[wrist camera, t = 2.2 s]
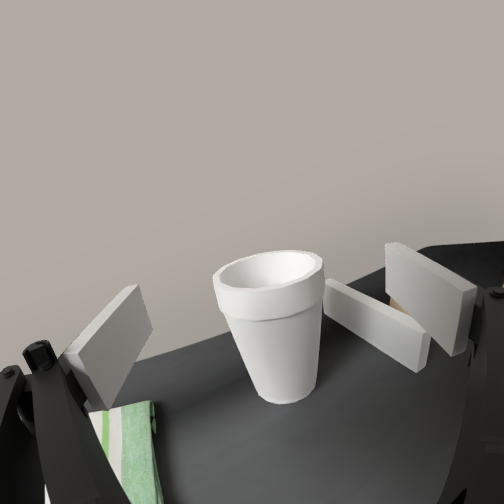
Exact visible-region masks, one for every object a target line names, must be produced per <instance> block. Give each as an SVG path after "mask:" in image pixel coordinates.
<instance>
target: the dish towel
mask: <svg viewBox="0 0 504 504" xmlns="http://www.w3.org/2000/svg"><path fill="white" fill-rule="evenodd" d="M88 414H89V417H90V419H91V422H92V424H93V427H94V429H95V432H96V434H97V437H98V439H99V441H100V444H101V446H102V448H103V450H104V452H105V455H106V457H107V459H108V461H109V463H110V465H111V467H112V469H113V471H114V473H115V475H116V477H117V479H118V481H119V482H120V484H121V486H122V488H123V490H124V492H125V493H126V495H127V497H128V498H129V500H130V502H131V503H132V504H164V500H163V495H162V490H161V486H160V481H159V476H158V470H157V464H156V459H155V453H154V447H153V442H152V436H151V428H152V430H153V431H154V432H155V434H156V424H155V419H154V418H153V421H152V423H150V416H153V417H154V415H155V413H154V406H153V402H152V401H151V400H149V401H143V402H139V403H135V404H130V405H126V406H122V407H118V408H113V409H110V410H109V411H98V412H92V413H88ZM21 420H22V419H21ZM45 504H50V500H49V497H48V493H47V489H46V485H45Z"/></svg>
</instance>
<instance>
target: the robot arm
mask: <svg viewBox="0 0 504 504" xmlns="http://www.w3.org/2000/svg"><path fill="white" fill-rule="evenodd" d="M385 257H386V293H387V294H389V295H390V296H391V297H392V298H393V299H394V300H395V301H396V302H397V303H398V304H399V305H400V306H401V307H402V308H403V309H404V310H405V311H406V312H407V313H408V314H409V315H410V316H411V317H412V318H413V319H414V320H415V321H416V322H417V323H418V324H419V325H420V326H421V327H422V328H423V329H424V330H425V331H426V332H427V333H428V334H429V335H430V336H431V337H432V338H433V339H434V340H435V341H436V342H437V343H438V344H439V345H440V346H441V347H442V348H443V349H444V350H445V351H446V352H447V353H448V354H449V355H450V356H451V357H453V356H455V355H457V354H460V353H462V352H464V351H465V350H466V346H467V342H468V338H470V339H471V340H472V341H473V342H474V344H473V348H472V352H471V356H470V359H469V363H468V366H470V365H471V368H470V377H469V385H468V393H467V399H466V405H465V411H464V417H463V422H462V426H461V431H460V435H459V440H458V444H457V448H456V451H455V455H454V459H453V462H452V465H451V469H450V472H449V475H448V478H447V481H446V484H445V487H444V489H443V492H442V494H441V497H440V499H439V501H438V502H437V504H504V288H502V287H489V288H487V289H484V288H482V287H480V286H479V285H477V284H475V283H474V282H472V281H470V280H469V279H467V278H464V277H463V276H462V275H460V274H458V273H456V272H453V271H450V270H448V269H447V268H445V267H443V266H441V265H439V264H438V263H436V262H434V261H432V260H430V259H429V258H427V257H425V256H423V255H421V254H419V253H418V252H416V251H414V250H412V249H410V248H408V247H406V246H404V245H402V244H401V243H398V242H393V243H388V244H385ZM152 330H153V329H152V326H151V322H150V319H149V317H148V314H147V311H146V307H145V304H144V301H143V298H142V295H141V292H140V288H139V285H132V286H126V287H125V288H124V289H123V290H122V291H121V292H120V293H119V294H118V295H117V296H116V297H115V298H114V299H113V300H112V301H111V302H110V303H109V304H108V305H107V306H106V307H105V308H104V309H103V310H102V312H101V313H100V314H99V315H98V316H97V317H96V318H95V319H94V320H93V321H92V322H91V323H90V324H89V325H88V326H87V327H86V328H85V329H84V331H83V332H82V333H81V334H80V335H79V336H78V337H77V338H76V339H75V340H74V341H73V342H72V343H71V344H70V345H69V347H68V348H67V349H66V350H65V351H64V352H63V353H62V354H61V355H60V357H59V358H58V359H57V357H56V355H55V353H54V351H53V349H52V347H51V344H50V342H49V341H47V340H41V341H37V342H35V343H33V344H31V345H29V346H28V347H27V348H26V349H25V350H24V351H23V353H22V354H23V356H24V358H25V360H26V362H27V364H28V366H29V368H30V370H31V371H32V374H28V375H24V374H23V372H22V371H21V369H20V367H19V366H17V365H13V366H8V367H6V368H4V369H3V371H1V372H0V504H45V485H46V489H47V493H48V497H49V500H50V504H132V503H131V502H130V500H129V498H128V497H127V495H126V493H125V492H124V490H123V488H122V486H121V484H120V482H119V481H118V479H117V477H116V475H115V473H114V471H113V469H112V467H111V465H110V463H109V461H108V459H107V457H106V455H105V452H104V450H103V448H102V446H101V444H100V441H99V439H98V437H97V434H96V432H95V429H94V427H93V424H92V422H91V419H90V417H89V414H88V411H87V410H86V408H85V407H84V403H85V401H86V400H87V399H88V401H89V403H90V404H91V406H92V408H93V409H94V410H102V411H109V410H110V408H111V406H112V404H113V402H114V400H115V398H116V396H117V394H118V393H119V391H120V389H121V387H122V385H123V383H124V381H125V379H126V377H127V376H128V374H129V372H130V370H131V368H132V366H133V364H134V363H135V361H136V359H137V357H138V355H139V354H140V352H141V349H142V348H143V346H144V345H145V343H146V341H147V339H148V337H149V336H150V334H151V332H152ZM18 413H19V415H20V416H21V417H22V420H21V419H20V417H19V415H18Z"/></svg>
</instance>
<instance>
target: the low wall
mask: <svg viewBox="0 0 504 504" xmlns="http://www.w3.org/2000/svg"><path fill="white" fill-rule="evenodd" d="M323 306H324V314H326V315H327V316H329V317H330V318H332V319H333V320H335V321H337V322H338V323H340V324H341V325H343V326H344V327H346V328H347V329H349V330H350V331H352V332H353V333H355V334H356V335H358V336H359V337H361V338H362V339H364V340H366V341H367V342H369V343H370V344H372V345H373V346H375V347H376V348H378V349H379V350H381V351H382V352H384V353H386V354H387V355H389V356H390V357H392V358H393V359H395V360H396V361H398V362H399V363H401V364H403V365H404V366H406V367H407V368H409V369H410V370H412V371H413V372H415V373H417V372H419V371H420V370H421V369H423V368H424V367H425V366H426V362H427V357H428V351H429V345H430V339H431V336H430V335H429V334H428V333H427V332H426V331H425V330H424V329H423V328H422V327H421V326H420V325H419V324H418V323H417V322H416V321H415V320H414V319H413V318H412V317H411V316H409V315H407V314H405V313H402V312H400V311H398V310H396V309H394V308H392V307H390V306H388V305H386V304H384V303H382V302H379V301H377V300H375V299H373V298H371V297H369V296H367V295H365V294H363V293H360V292H358V291H356V290H354V289H352V288H350V287H348V286H346V285H344V284H341V283H339V282H337V281H335V280H333V279H328V280H325V291H324V296H323Z"/></svg>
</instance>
